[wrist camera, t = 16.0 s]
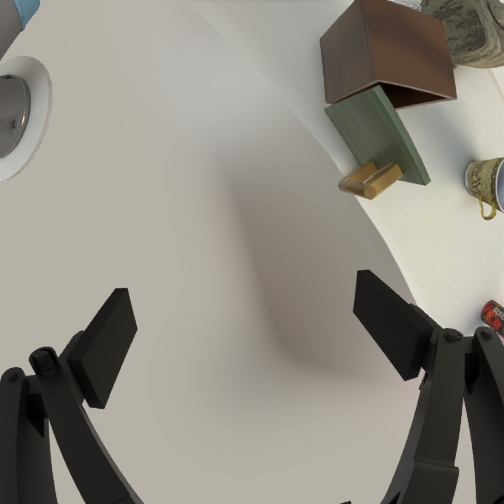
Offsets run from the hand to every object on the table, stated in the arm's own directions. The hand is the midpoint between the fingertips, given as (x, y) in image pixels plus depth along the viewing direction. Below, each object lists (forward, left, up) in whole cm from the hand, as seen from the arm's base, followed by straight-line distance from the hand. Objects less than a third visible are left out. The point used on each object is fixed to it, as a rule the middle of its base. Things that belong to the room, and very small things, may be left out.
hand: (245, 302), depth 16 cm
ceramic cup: (+8, +45, -27) cm, 53 cm away
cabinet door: (-4, +17, -27) cm, 32 cm away
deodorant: (+42, +52, -27) cm, 72 cm away
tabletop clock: (-21, +45, -27) cm, 57 cm away
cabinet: (-15, +25, -27) cm, 40 cm away
